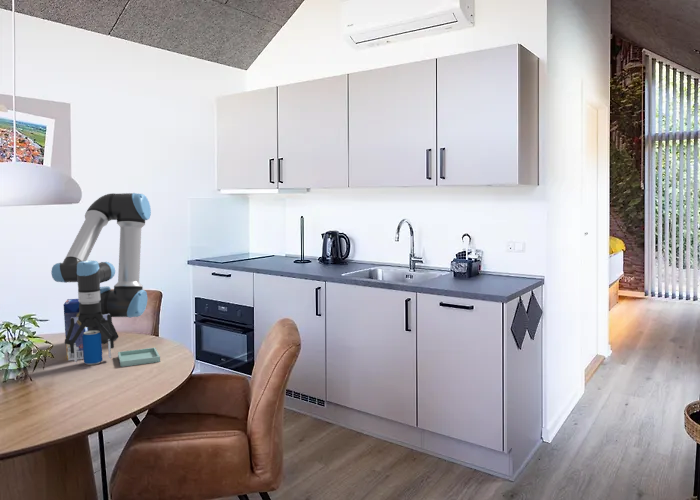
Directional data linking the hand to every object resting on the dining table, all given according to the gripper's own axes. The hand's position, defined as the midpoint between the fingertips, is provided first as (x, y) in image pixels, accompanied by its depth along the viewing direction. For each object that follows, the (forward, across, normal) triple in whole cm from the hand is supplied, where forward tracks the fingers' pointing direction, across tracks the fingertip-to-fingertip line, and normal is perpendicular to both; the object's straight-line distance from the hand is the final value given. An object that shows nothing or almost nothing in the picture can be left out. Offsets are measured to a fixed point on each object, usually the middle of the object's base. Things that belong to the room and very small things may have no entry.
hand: (93, 359), depth 213 cm
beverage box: (+2, -5, +13) cm, 14 cm away
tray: (+2, +16, -3) cm, 16 cm away
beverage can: (+2, 0, 0) cm, 2 cm away
